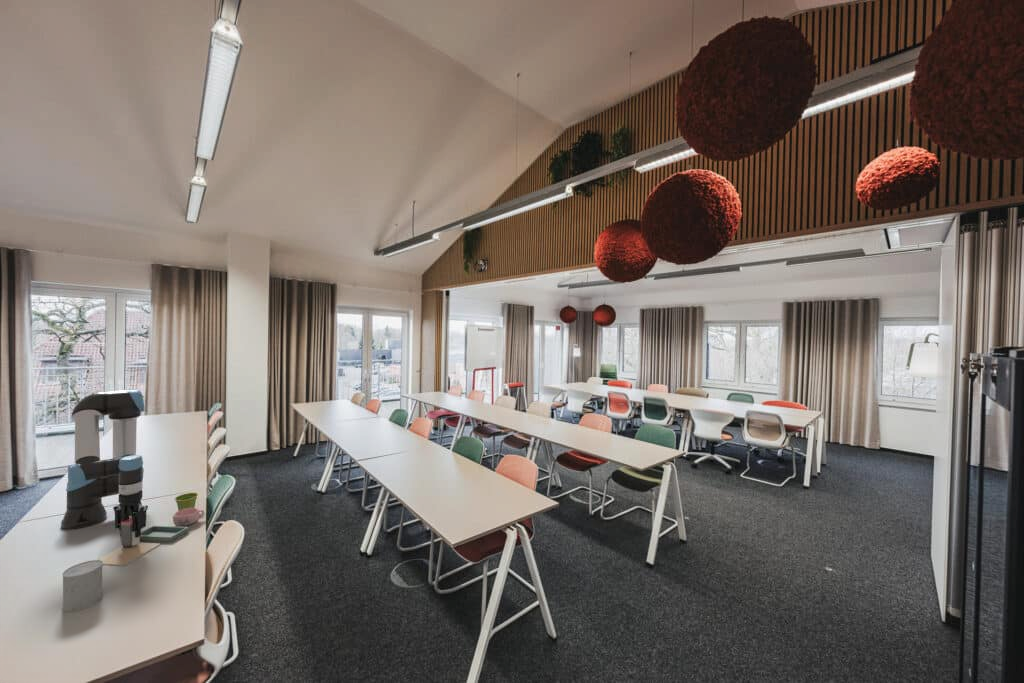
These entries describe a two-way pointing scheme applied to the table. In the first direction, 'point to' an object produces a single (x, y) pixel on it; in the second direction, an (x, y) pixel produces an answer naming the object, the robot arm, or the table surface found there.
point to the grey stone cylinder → (82, 585)
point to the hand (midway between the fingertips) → (130, 543)
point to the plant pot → (186, 501)
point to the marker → (126, 533)
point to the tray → (162, 534)
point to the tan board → (127, 554)
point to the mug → (186, 516)
